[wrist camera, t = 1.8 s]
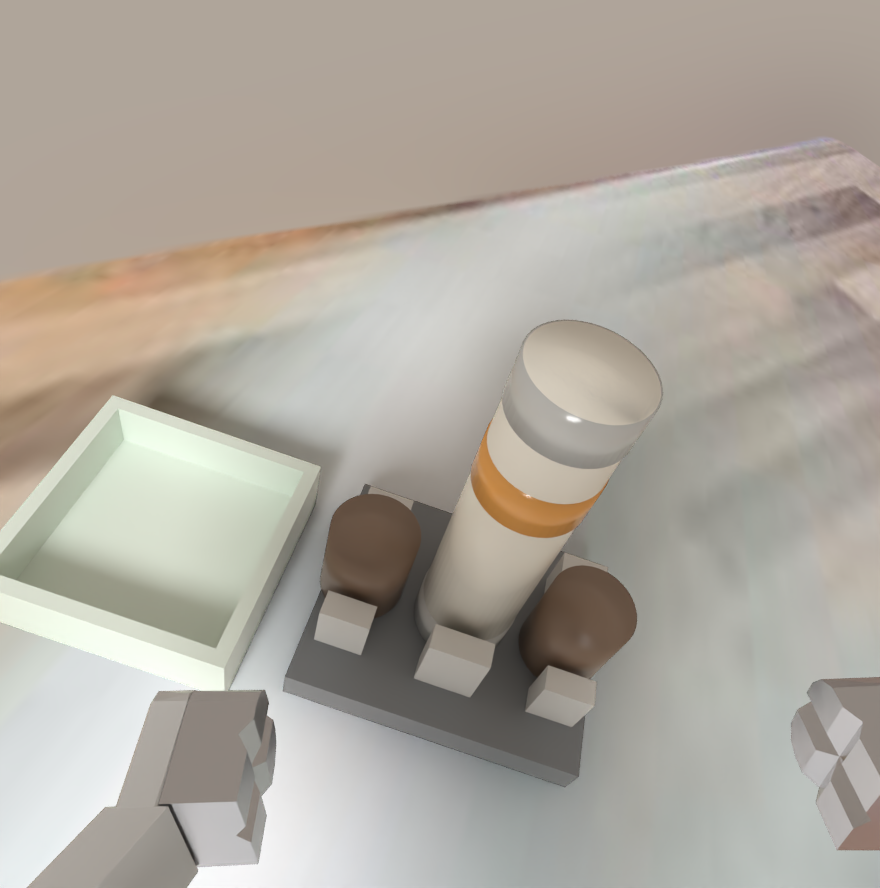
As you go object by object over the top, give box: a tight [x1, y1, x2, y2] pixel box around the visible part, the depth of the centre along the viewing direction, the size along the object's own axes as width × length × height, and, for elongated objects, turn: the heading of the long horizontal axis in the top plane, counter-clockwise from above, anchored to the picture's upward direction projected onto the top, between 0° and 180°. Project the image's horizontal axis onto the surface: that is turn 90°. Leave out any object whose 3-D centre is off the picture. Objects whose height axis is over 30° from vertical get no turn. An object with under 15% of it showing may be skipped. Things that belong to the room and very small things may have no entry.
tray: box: [0, 395, 321, 691], centre depth 30 cm, size 10×10×3 cm
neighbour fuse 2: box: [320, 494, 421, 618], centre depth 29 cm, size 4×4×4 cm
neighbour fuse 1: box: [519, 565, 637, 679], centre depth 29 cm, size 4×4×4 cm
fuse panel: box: [283, 484, 608, 787], centre depth 30 cm, size 12×10×4 cm
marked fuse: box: [414, 320, 663, 648], centre depth 25 cm, size 4×4×15 cm
